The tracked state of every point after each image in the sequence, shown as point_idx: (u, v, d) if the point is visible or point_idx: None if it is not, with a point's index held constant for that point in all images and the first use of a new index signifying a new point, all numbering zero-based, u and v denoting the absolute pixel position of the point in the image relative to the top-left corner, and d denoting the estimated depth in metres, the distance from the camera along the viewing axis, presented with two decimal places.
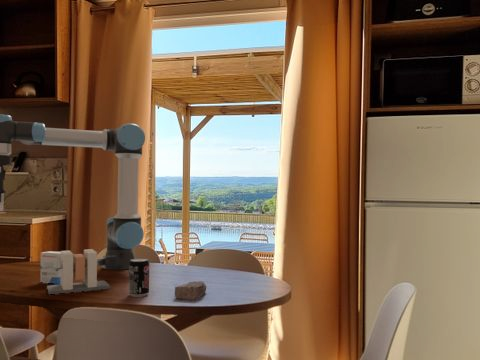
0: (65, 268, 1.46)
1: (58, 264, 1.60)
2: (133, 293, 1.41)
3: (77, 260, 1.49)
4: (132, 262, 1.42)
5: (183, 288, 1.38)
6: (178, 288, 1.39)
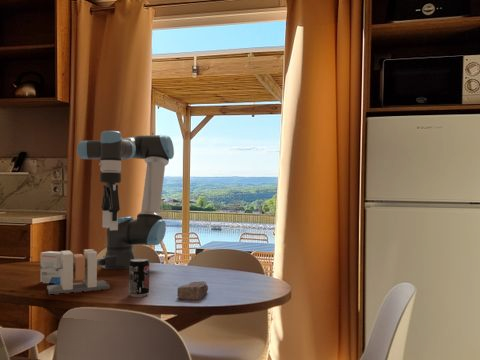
0: (65, 268, 1.46)
1: (58, 264, 1.60)
2: (133, 293, 1.41)
3: (77, 260, 1.49)
4: (132, 262, 1.42)
5: (186, 288, 1.38)
6: (181, 288, 1.38)
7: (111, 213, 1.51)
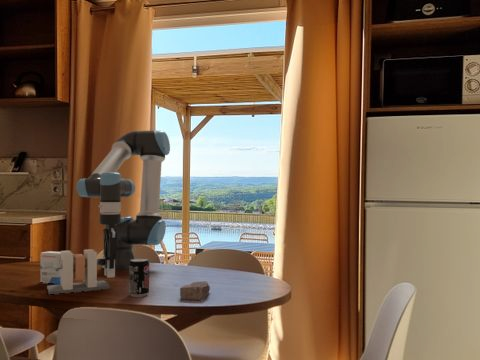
0: (65, 268, 1.46)
1: (58, 264, 1.60)
2: (133, 293, 1.41)
3: (77, 260, 1.49)
4: (132, 262, 1.42)
5: (189, 288, 1.38)
6: (184, 288, 1.38)
7: (108, 261, 1.55)
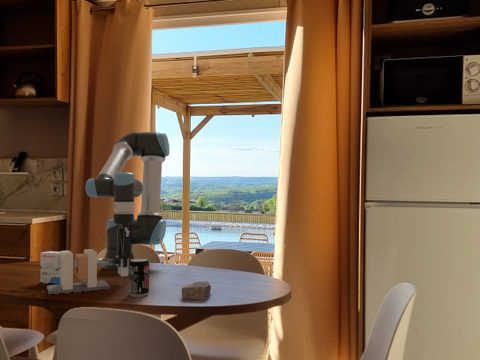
0: (65, 268, 1.46)
1: (58, 264, 1.60)
2: (133, 293, 1.41)
3: (80, 260, 1.49)
4: (132, 262, 1.42)
5: (191, 288, 1.38)
6: (185, 289, 1.38)
7: (122, 260, 1.57)
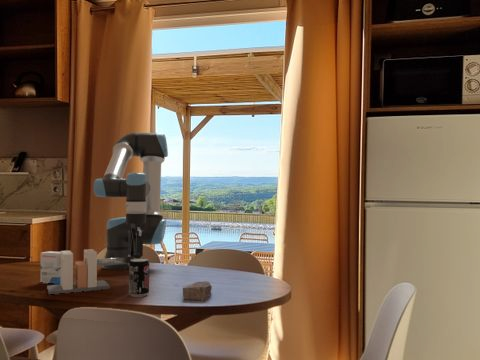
0: (65, 268, 1.46)
1: (58, 264, 1.60)
2: (133, 293, 1.41)
3: (79, 268, 1.49)
4: (132, 262, 1.42)
5: (192, 289, 1.38)
6: (186, 289, 1.38)
7: None
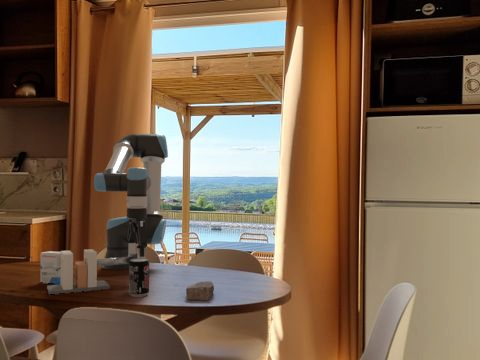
0: (65, 268, 1.46)
1: (58, 264, 1.60)
2: (133, 293, 1.41)
3: (79, 268, 1.49)
4: (132, 262, 1.42)
5: (195, 289, 1.38)
6: (190, 289, 1.38)
7: (139, 249, 1.56)
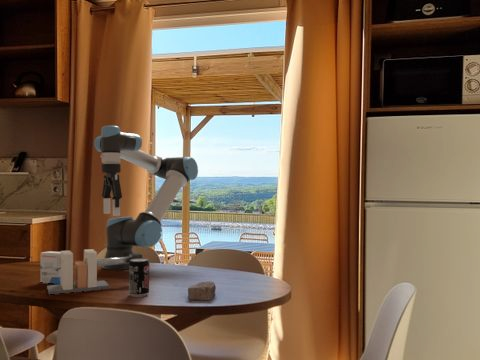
0: (65, 268, 1.46)
1: (58, 264, 1.60)
2: (133, 293, 1.41)
3: (79, 268, 1.49)
4: (132, 262, 1.42)
5: (197, 289, 1.37)
6: (192, 289, 1.38)
7: (114, 200, 1.68)
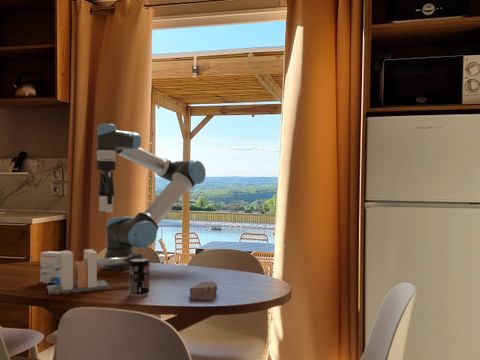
0: (65, 268, 1.46)
1: (58, 264, 1.60)
2: (133, 293, 1.41)
3: (79, 268, 1.49)
4: (132, 262, 1.42)
5: (199, 289, 1.37)
6: (194, 289, 1.37)
7: (106, 197, 1.69)
